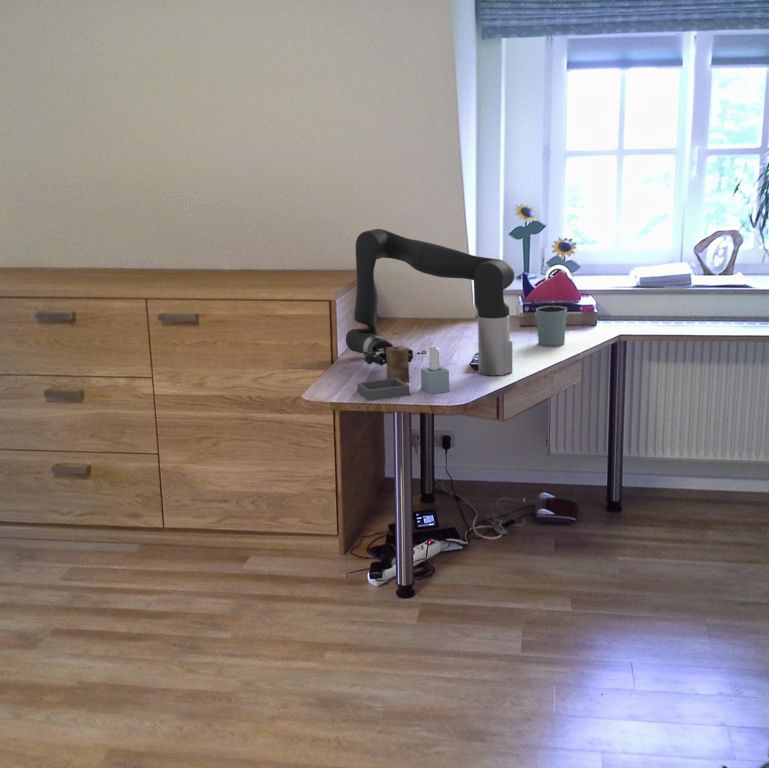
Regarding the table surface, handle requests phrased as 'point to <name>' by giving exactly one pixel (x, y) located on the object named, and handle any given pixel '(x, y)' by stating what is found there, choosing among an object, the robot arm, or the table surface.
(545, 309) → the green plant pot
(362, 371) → the table surface
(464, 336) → the table surface
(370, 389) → the tray
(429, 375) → the square socket block
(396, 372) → the walnut block
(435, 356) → the cylinder
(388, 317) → the table surface
